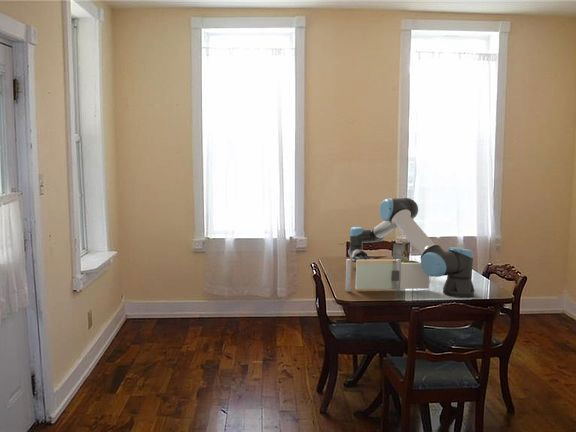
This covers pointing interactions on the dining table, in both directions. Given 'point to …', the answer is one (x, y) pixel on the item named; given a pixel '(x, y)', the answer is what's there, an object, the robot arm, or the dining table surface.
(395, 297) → the dining table surface
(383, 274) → the gate
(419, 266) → the fence
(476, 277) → the dining table surface
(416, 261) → the plant pot
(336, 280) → the dining table surface
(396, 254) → the coffee box
